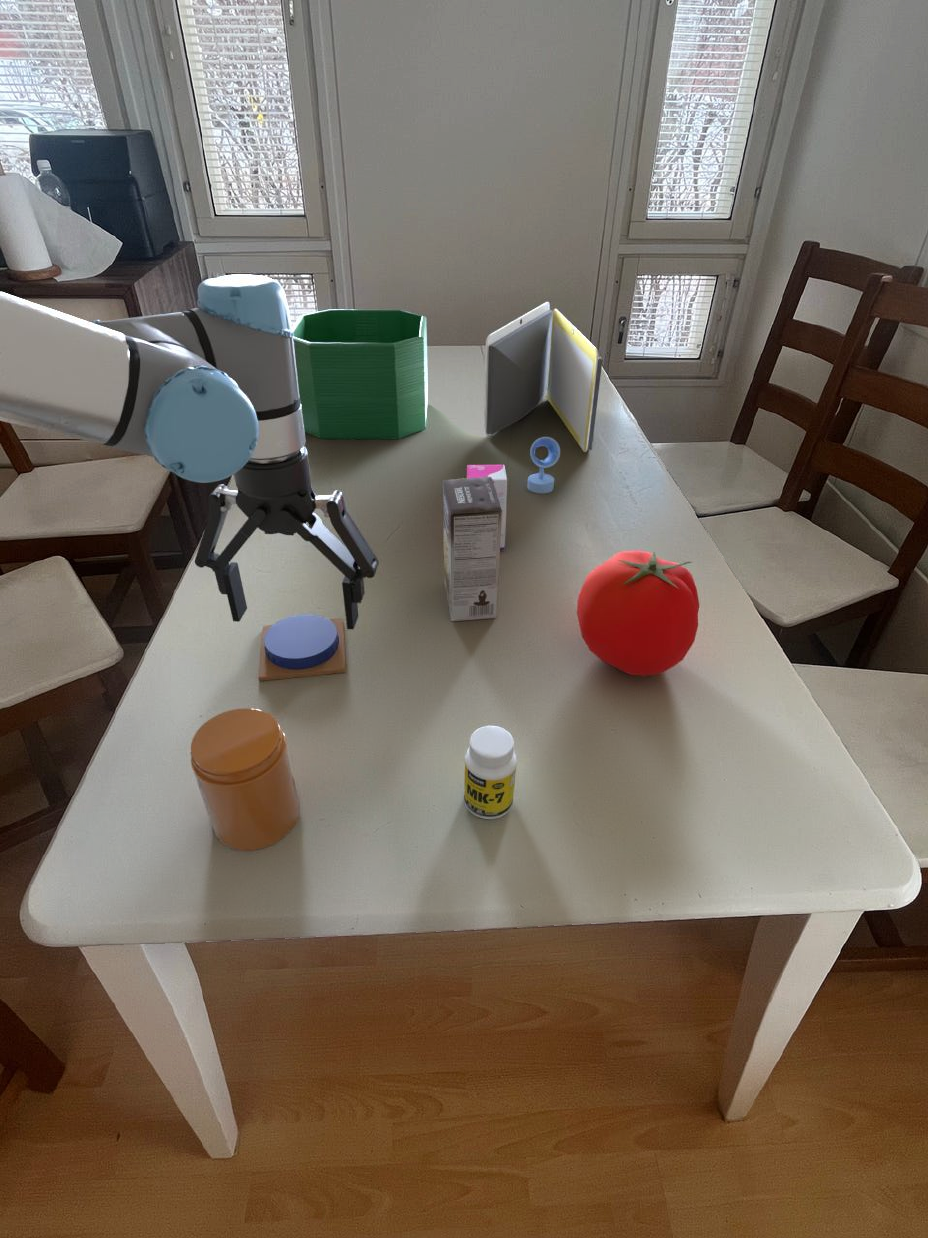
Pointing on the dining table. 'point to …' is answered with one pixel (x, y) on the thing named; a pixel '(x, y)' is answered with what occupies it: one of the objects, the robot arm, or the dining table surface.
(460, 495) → the coffee box
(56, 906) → the dining table surface
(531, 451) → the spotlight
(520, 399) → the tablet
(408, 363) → the planter
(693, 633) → the tomato
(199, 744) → the jar
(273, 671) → the coaster
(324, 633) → the lid
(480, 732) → the supplement bottle
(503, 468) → the supplement box
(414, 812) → the dining table surface
